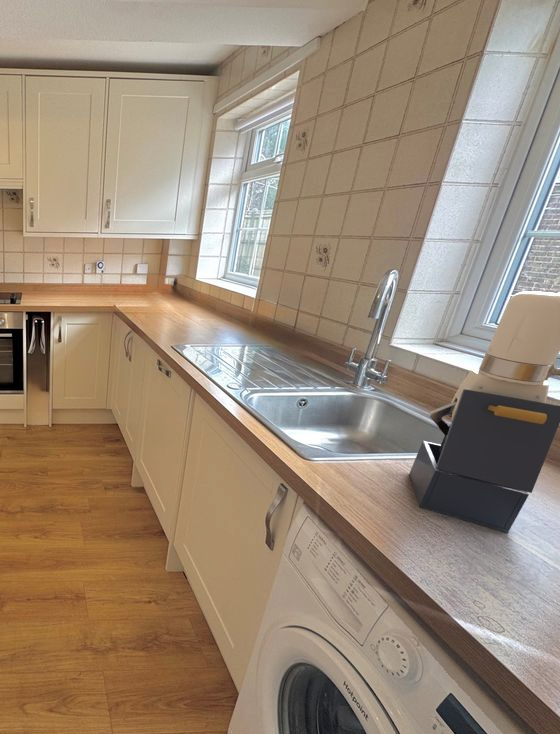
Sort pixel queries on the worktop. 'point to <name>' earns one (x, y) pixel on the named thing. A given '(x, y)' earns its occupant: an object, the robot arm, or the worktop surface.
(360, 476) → the worktop surface
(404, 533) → the worktop surface
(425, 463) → the chest
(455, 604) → the worktop surface
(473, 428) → the lid
